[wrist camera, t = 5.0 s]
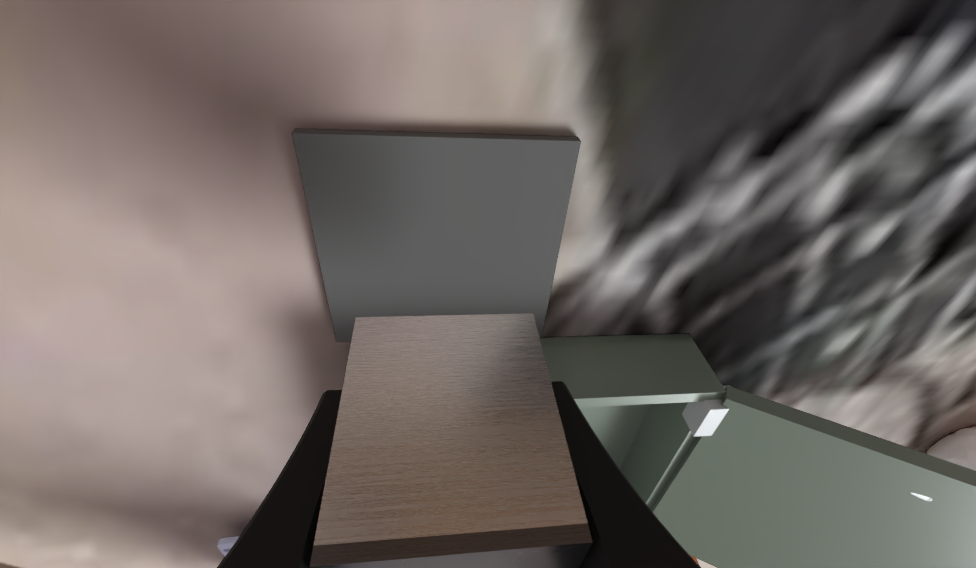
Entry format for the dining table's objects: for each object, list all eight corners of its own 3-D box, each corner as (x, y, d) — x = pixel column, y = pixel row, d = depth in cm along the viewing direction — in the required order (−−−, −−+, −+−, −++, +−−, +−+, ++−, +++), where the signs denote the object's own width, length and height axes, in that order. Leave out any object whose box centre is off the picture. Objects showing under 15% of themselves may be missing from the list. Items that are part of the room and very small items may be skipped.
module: (515, 413, 14) (550, 619, 10) (373, 420, 14) (348, 641, 10) (533, 313, 11) (593, 542, 7) (355, 317, 11) (309, 566, 7)
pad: (539, 330, 20) (541, 336, 20) (337, 335, 19) (336, 342, 19) (577, 136, 15) (580, 141, 14) (294, 128, 14) (292, 133, 13)
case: (799, 459, 31) (945, 667, 22) (377, 487, 28) (353, 748, 19) (924, 326, 23) (1230, 571, 14) (350, 343, 20) (287, 681, 11)
